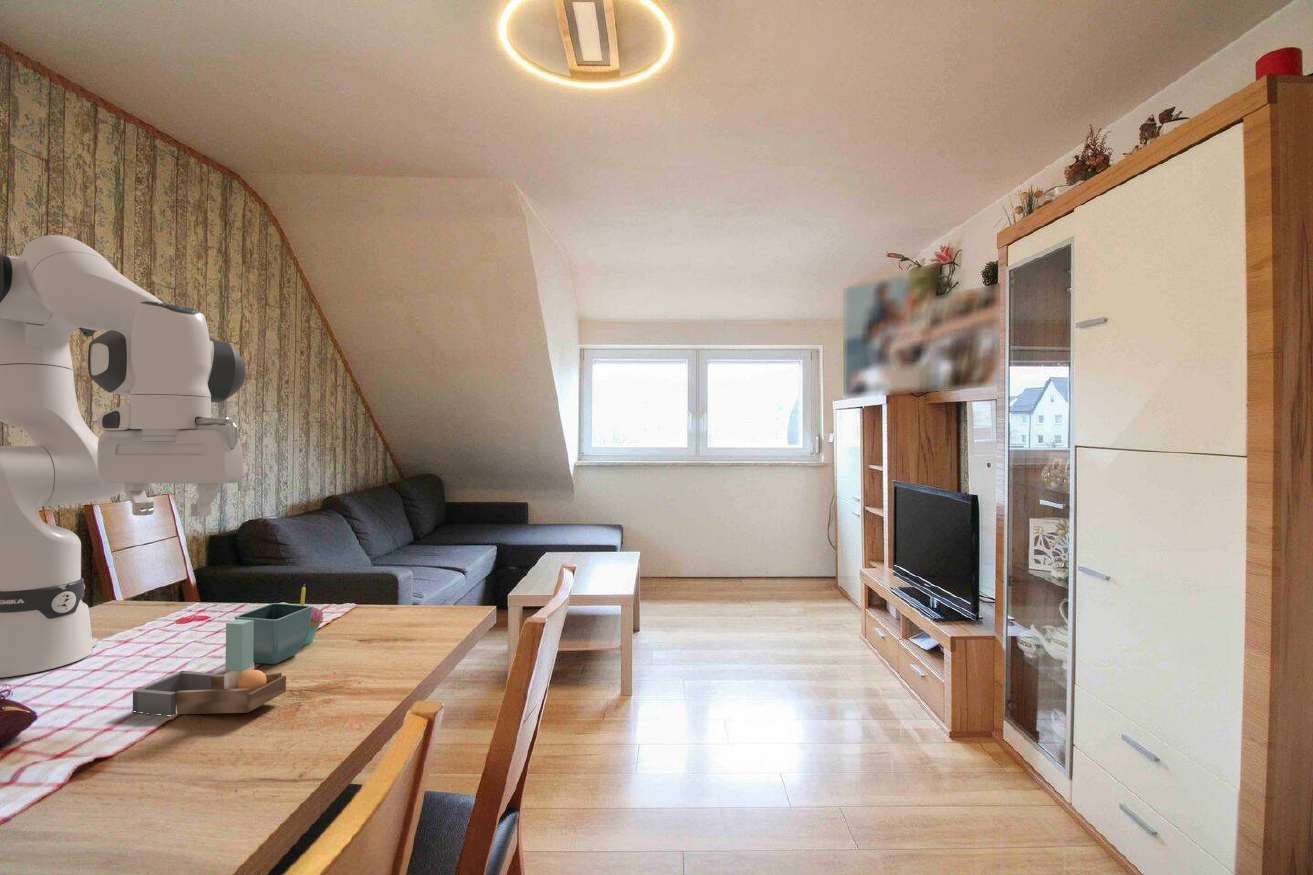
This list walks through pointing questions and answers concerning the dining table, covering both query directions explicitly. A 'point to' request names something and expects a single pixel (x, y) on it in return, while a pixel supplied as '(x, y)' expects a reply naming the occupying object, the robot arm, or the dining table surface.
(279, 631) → the flower pot
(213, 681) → the hexagonal shallow dish
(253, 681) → the ball
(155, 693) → the grey low frame
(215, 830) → the dining table surface
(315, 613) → the cupcake
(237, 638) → the rectangular block
